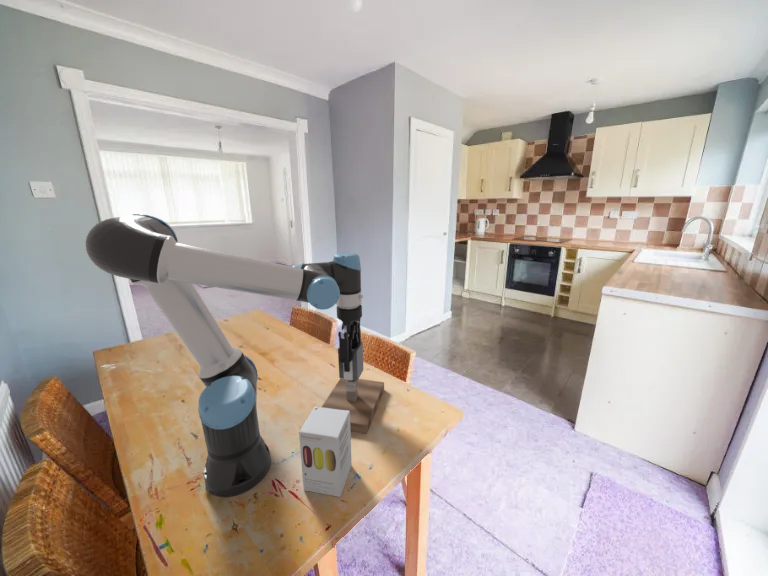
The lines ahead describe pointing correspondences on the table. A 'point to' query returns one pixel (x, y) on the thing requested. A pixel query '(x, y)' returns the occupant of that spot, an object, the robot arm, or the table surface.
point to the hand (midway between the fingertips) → (352, 373)
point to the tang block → (356, 401)
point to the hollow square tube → (354, 360)
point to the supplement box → (326, 450)
